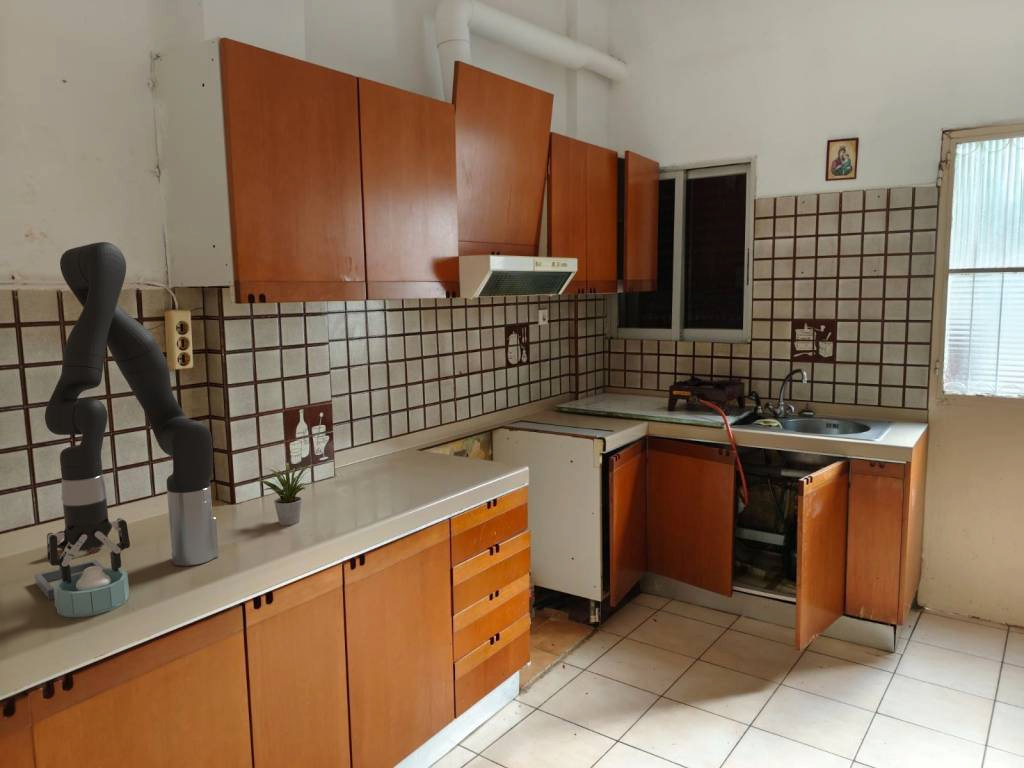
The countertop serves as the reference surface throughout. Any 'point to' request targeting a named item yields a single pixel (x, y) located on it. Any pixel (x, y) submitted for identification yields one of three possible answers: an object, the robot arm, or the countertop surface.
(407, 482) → the countertop surface
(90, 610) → the bowl
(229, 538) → the countertop surface
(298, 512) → the house plant
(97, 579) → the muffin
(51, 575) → the square frame
